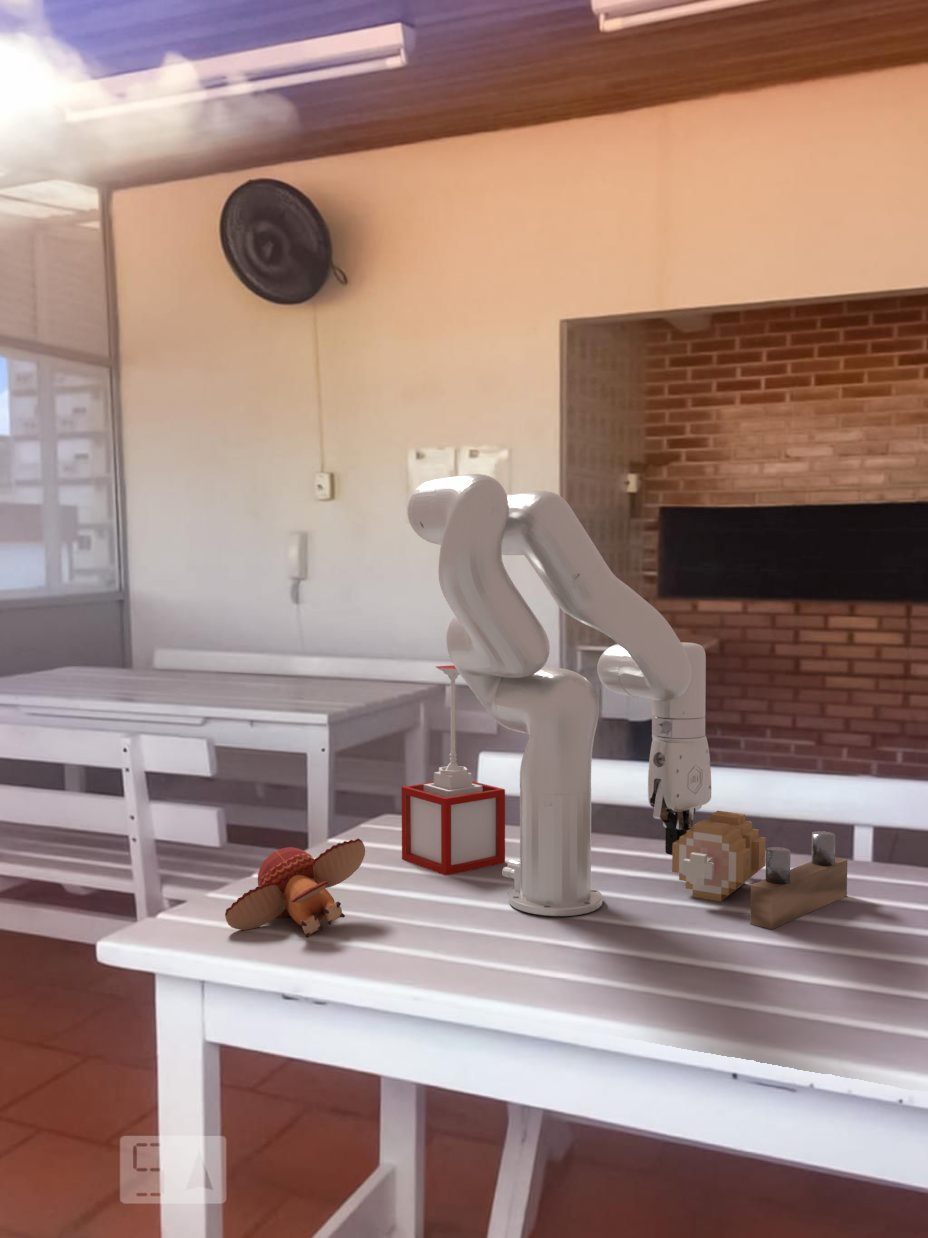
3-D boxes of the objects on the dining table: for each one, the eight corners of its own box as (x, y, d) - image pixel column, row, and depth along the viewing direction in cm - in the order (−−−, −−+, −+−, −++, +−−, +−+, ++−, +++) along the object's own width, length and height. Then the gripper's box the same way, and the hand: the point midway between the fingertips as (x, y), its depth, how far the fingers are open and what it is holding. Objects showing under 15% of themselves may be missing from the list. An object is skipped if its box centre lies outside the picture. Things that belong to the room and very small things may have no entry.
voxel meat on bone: (772, 879, 157) (774, 811, 157) (733, 913, 142) (734, 837, 141) (706, 869, 162) (707, 803, 162) (661, 900, 147) (662, 827, 147)
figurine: (399, 907, 139) (349, 856, 151) (383, 852, 135) (333, 804, 147) (260, 987, 131) (219, 926, 143) (239, 932, 127) (198, 874, 139)
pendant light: (460, 847, 175) (459, 662, 174) (505, 862, 166) (505, 667, 165) (401, 859, 168) (401, 666, 167) (445, 875, 159) (445, 672, 158)
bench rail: (750, 923, 137) (751, 853, 137) (826, 891, 151) (827, 827, 151) (771, 929, 135) (772, 858, 135) (846, 895, 149) (847, 830, 149)
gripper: (670, 737, 148) (670, 870, 149) (729, 725, 159) (728, 849, 160) (626, 731, 153) (625, 859, 154) (685, 720, 164) (684, 840, 165)
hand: (677, 854), depth 157 cm, fingers closed
